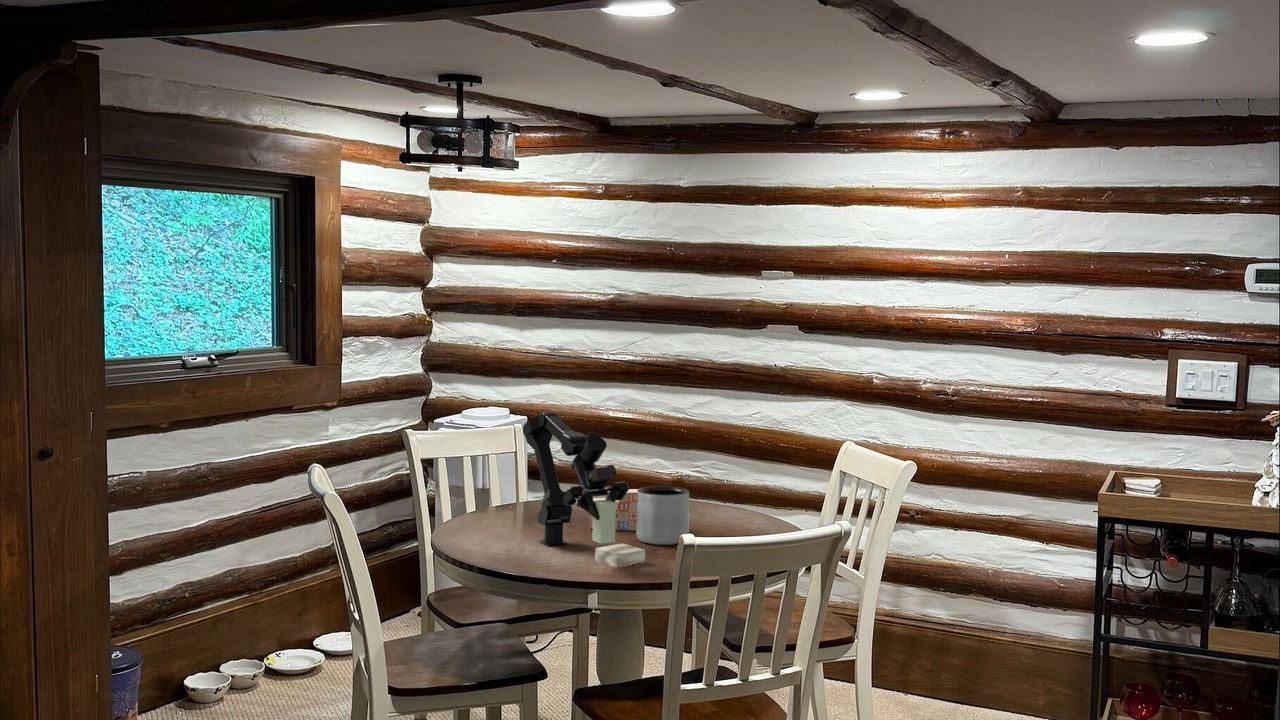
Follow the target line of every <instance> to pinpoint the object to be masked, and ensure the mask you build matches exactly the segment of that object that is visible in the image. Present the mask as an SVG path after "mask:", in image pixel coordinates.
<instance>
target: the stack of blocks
mask: <svg viewBox="0 0 1280 720" xmlns="http://www.w3.org/2000/svg"><path fill="white" fill-rule="evenodd" d="M638 489H639V488H637V489H636V488H633V489H632V488H631V489H630V488H629V490H628V492H627V493H626V495H625V496H624V498H623V499H622V500H617V501H615V503H616V513H615V531H636V530H637V497H638ZM599 500H605V497H593V501H599ZM590 529H593V516H592V515H590V514H589V530H590Z"/></svg>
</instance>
